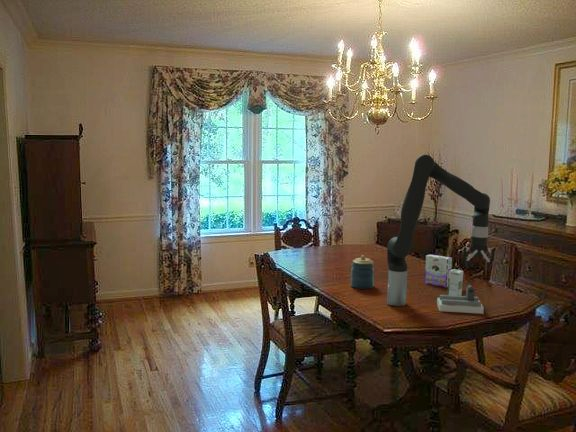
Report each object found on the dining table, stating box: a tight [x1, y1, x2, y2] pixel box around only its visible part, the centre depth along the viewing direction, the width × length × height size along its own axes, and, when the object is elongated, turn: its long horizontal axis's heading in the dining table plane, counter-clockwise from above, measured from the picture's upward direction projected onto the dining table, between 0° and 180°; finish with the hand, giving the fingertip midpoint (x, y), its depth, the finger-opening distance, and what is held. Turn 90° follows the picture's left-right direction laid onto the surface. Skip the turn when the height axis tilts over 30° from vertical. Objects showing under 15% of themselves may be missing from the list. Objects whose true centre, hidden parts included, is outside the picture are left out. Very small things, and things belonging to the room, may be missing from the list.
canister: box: [350, 254, 375, 290], centre depth 292 cm, size 13×13×18 cm
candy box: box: [423, 253, 453, 288], centre depth 297 cm, size 14×6×16 cm, turn 47°
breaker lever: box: [465, 284, 475, 301], centre depth 253 cm, size 3×5×8 cm, turn 170°
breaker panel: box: [436, 294, 485, 315], centre depth 255 cm, size 20×12×5 cm, turn 80°
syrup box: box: [446, 268, 464, 296], centre depth 272 cm, size 6×6×14 cm
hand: (477, 268), depth 251 cm, fingers open, 8 cm apart
